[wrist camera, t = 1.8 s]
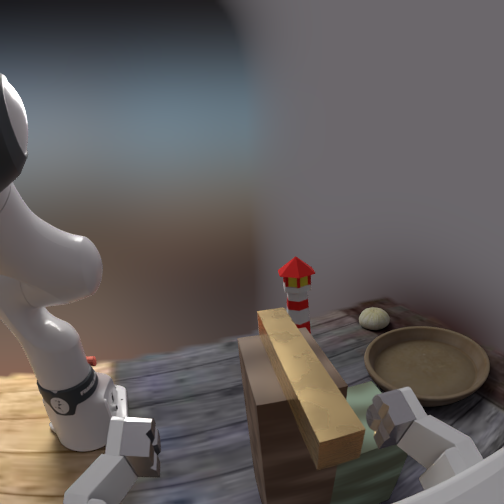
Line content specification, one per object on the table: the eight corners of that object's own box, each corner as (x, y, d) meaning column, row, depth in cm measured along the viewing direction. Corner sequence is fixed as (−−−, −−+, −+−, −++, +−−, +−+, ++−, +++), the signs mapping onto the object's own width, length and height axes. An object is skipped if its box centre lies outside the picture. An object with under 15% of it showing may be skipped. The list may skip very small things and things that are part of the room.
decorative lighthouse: (276, 381, 68) (268, 251, 61) (315, 377, 68) (314, 247, 61) (280, 410, 58) (272, 266, 51) (324, 405, 58) (327, 262, 51)
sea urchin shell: (376, 330, 81) (363, 305, 85) (362, 340, 88) (350, 317, 91) (398, 320, 85) (385, 297, 89) (383, 330, 91) (371, 308, 95)
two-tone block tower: (255, 476, 42) (237, 338, 36) (359, 450, 45) (379, 312, 38) (270, 534, 31) (256, 405, 24) (388, 499, 33) (435, 357, 27)
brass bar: (259, 335, 36) (257, 311, 35) (284, 330, 36) (283, 307, 36) (317, 470, 17) (319, 442, 16) (359, 457, 17) (365, 428, 16)
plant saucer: (461, 335, 74) (464, 321, 73) (504, 403, 45) (511, 386, 44) (358, 342, 81) (359, 327, 80) (368, 422, 52) (371, 405, 50)
